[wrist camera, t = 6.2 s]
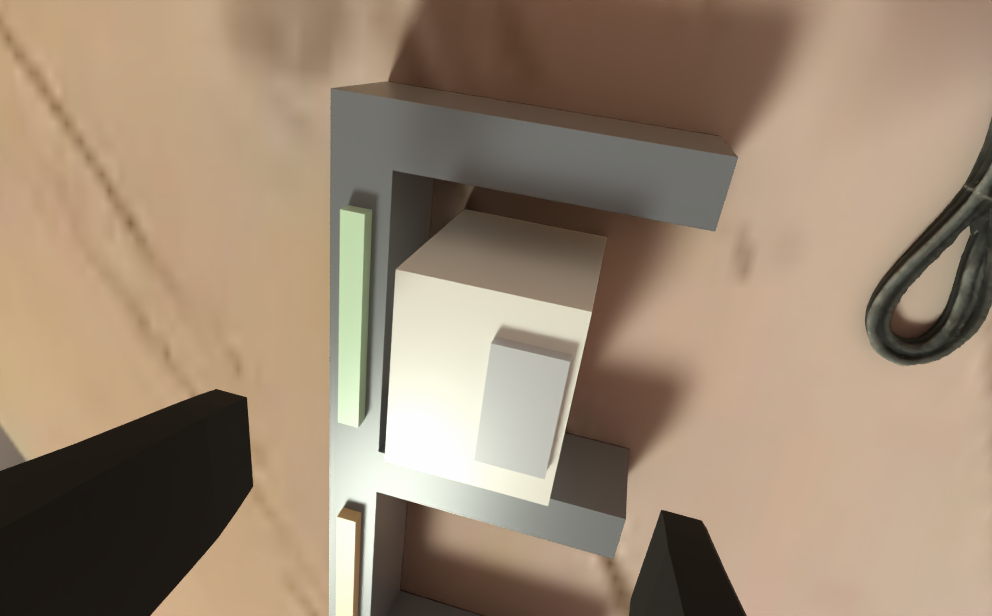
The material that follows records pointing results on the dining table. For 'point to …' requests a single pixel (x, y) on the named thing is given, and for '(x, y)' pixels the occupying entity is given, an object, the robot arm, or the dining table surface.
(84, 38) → the dining table surface
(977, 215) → the composite cable
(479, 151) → the socket panel
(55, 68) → the dining table surface
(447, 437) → the plug
